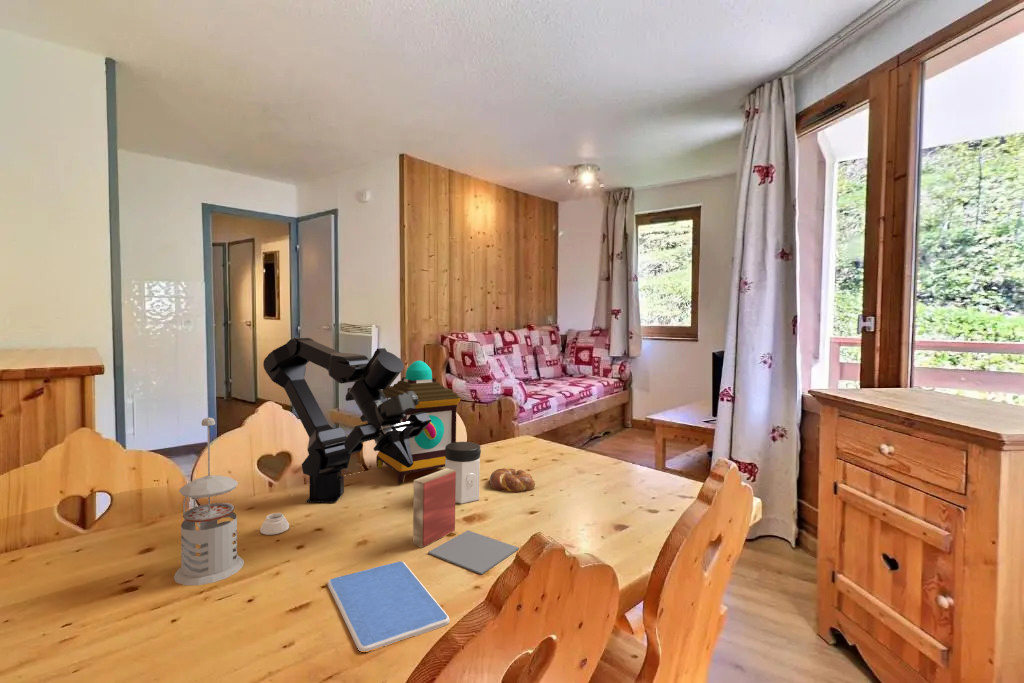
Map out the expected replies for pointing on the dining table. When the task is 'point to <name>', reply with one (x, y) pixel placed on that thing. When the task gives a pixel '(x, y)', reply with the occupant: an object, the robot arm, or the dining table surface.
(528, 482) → the pretzel
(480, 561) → the mat
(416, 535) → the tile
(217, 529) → the french press
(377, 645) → the tablet computer
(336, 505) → the dining table surface
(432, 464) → the decorative lantern
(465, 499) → the jar
